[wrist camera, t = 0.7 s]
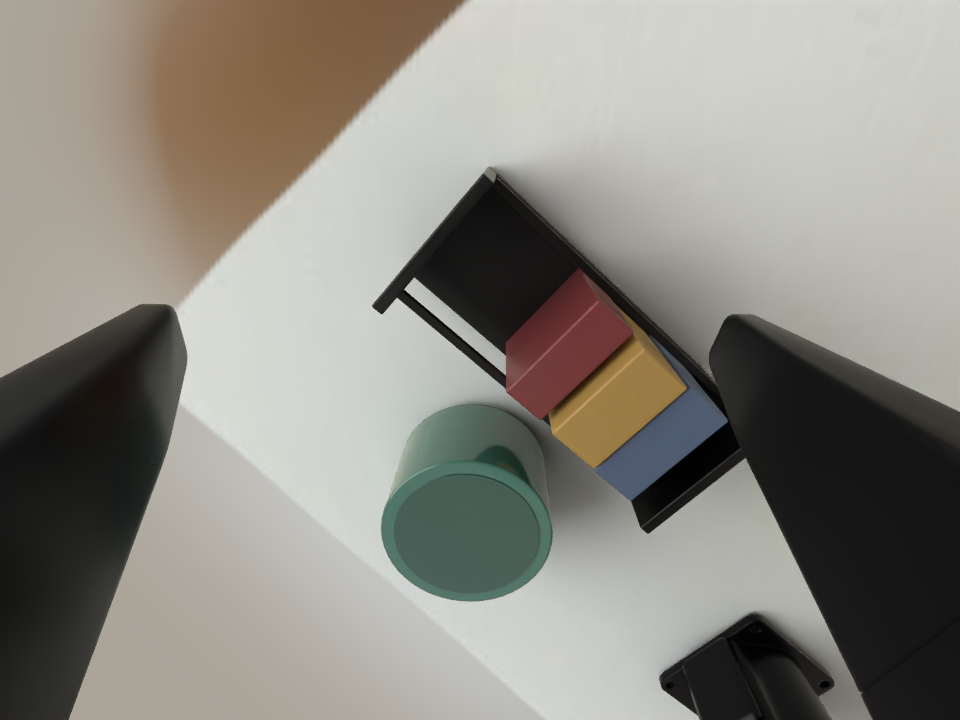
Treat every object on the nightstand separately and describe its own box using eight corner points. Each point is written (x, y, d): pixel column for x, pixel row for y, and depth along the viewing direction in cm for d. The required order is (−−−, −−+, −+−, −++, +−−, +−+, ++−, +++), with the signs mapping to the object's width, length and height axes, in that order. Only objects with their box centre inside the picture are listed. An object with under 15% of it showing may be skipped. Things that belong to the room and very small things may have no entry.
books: (680, 361, 22) (731, 424, 17) (604, 428, 23) (632, 505, 18) (578, 266, 21) (602, 304, 16) (505, 342, 22) (505, 400, 17)
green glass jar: (573, 460, 25) (589, 534, 20) (479, 543, 26) (474, 628, 22) (466, 371, 23) (457, 428, 19) (375, 466, 25) (345, 539, 20)
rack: (704, 367, 23) (769, 439, 17) (614, 446, 24) (647, 535, 19) (490, 164, 20) (484, 171, 15) (404, 266, 22) (370, 307, 16)
